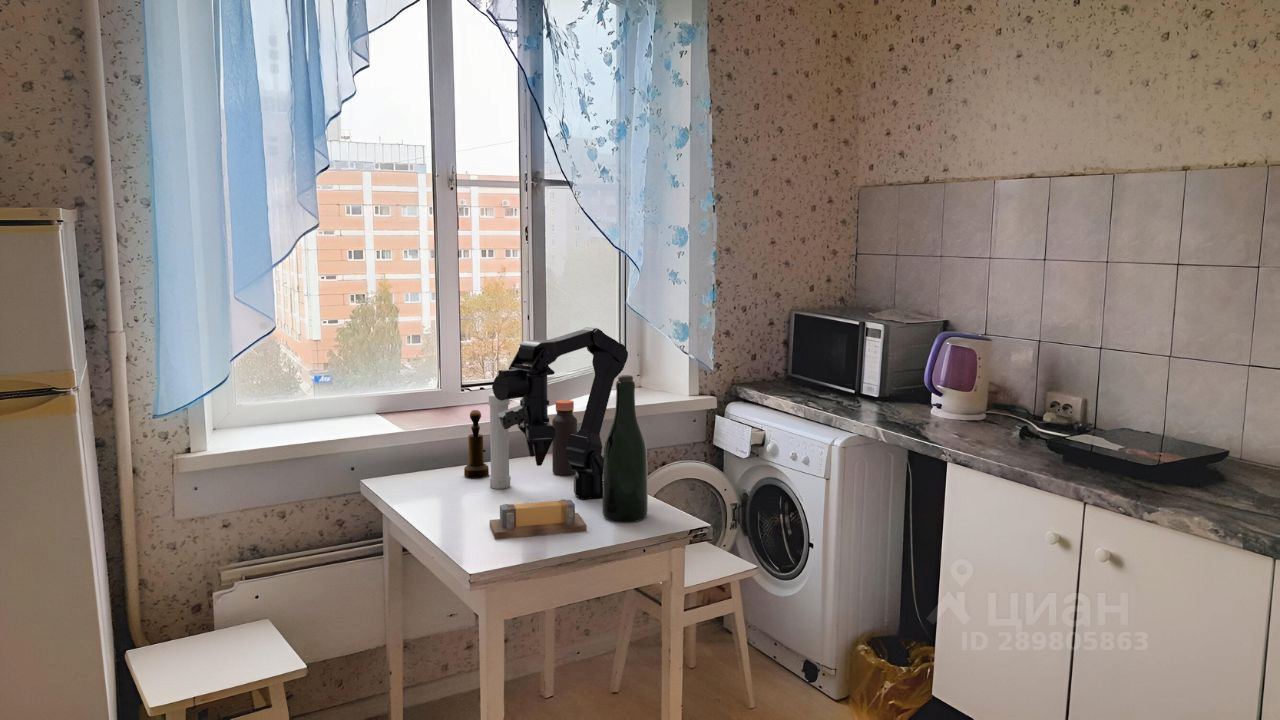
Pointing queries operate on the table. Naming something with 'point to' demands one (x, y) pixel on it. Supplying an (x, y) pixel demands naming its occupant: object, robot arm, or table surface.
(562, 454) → the vinegar
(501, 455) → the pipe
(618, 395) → the green wine bottle
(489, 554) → the table surface
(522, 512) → the bar
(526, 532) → the rack
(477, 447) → the pepper mill
